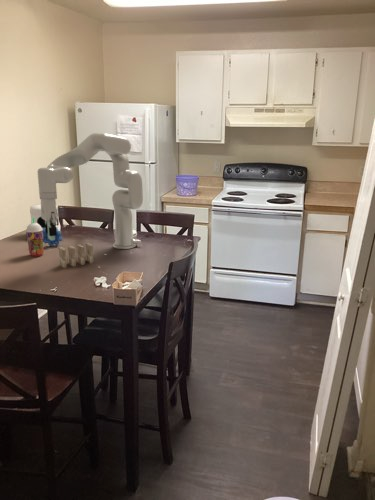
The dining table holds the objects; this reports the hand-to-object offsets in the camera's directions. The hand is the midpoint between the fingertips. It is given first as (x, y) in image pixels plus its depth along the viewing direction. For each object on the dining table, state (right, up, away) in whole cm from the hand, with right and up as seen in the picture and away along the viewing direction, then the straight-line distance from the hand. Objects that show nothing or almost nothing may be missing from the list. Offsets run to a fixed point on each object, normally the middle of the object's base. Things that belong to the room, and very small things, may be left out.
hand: (51, 233), depth 202 cm
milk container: (-22, +1, +61) cm, 65 cm away
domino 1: (0, -2, +1) cm, 2 cm away
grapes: (-12, -6, +39) cm, 41 cm away
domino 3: (+7, -15, +10) cm, 19 cm away
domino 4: (+11, -14, +12) cm, 22 cm away
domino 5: (+15, -13, +14) cm, 25 cm away
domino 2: (+4, -15, +7) cm, 17 cm away
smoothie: (-15, -10, +23) cm, 29 cm away
